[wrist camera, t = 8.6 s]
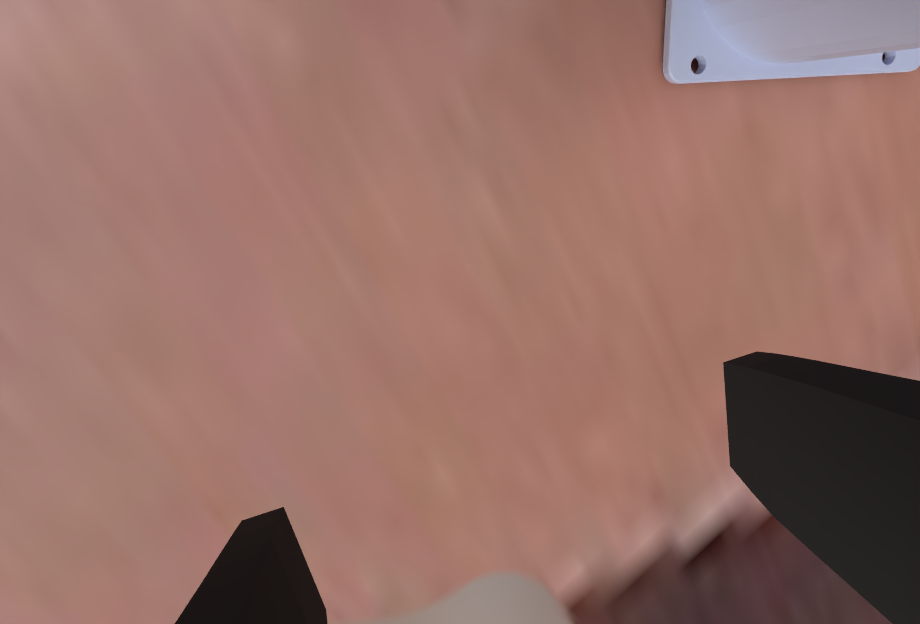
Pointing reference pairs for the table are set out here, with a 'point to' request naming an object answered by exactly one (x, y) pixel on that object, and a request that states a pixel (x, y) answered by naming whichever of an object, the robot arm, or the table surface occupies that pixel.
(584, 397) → the table surface
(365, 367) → the table surface
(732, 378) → the robot arm
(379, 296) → the table surface
